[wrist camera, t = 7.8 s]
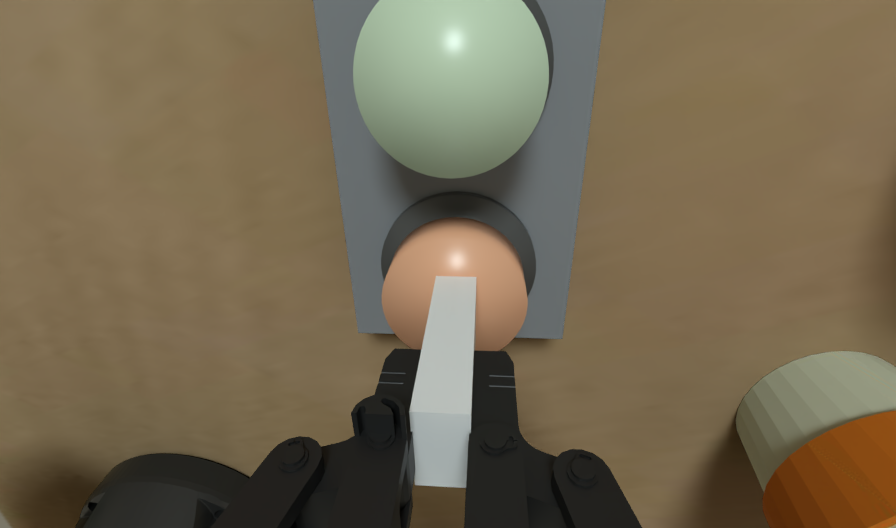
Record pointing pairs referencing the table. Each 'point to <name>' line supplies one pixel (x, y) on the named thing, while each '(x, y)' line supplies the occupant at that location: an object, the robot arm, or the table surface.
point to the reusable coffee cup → (824, 441)
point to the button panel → (476, 197)
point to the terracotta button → (456, 254)
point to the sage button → (451, 82)
